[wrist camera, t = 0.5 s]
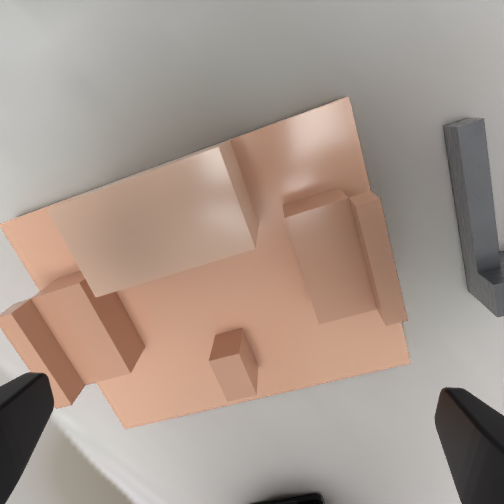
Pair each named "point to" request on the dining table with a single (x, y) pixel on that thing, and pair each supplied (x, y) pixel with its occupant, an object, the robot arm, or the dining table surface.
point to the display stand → (214, 276)
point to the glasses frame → (476, 211)
